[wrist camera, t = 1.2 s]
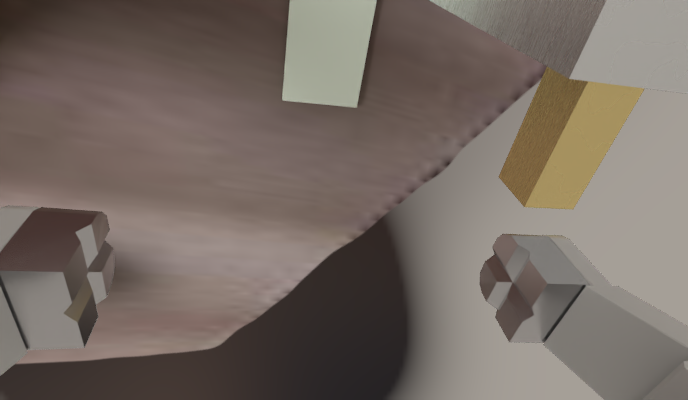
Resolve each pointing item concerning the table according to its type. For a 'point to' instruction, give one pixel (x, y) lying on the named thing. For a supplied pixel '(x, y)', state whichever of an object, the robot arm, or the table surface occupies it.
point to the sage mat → (326, 50)
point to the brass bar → (565, 139)
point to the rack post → (592, 37)
